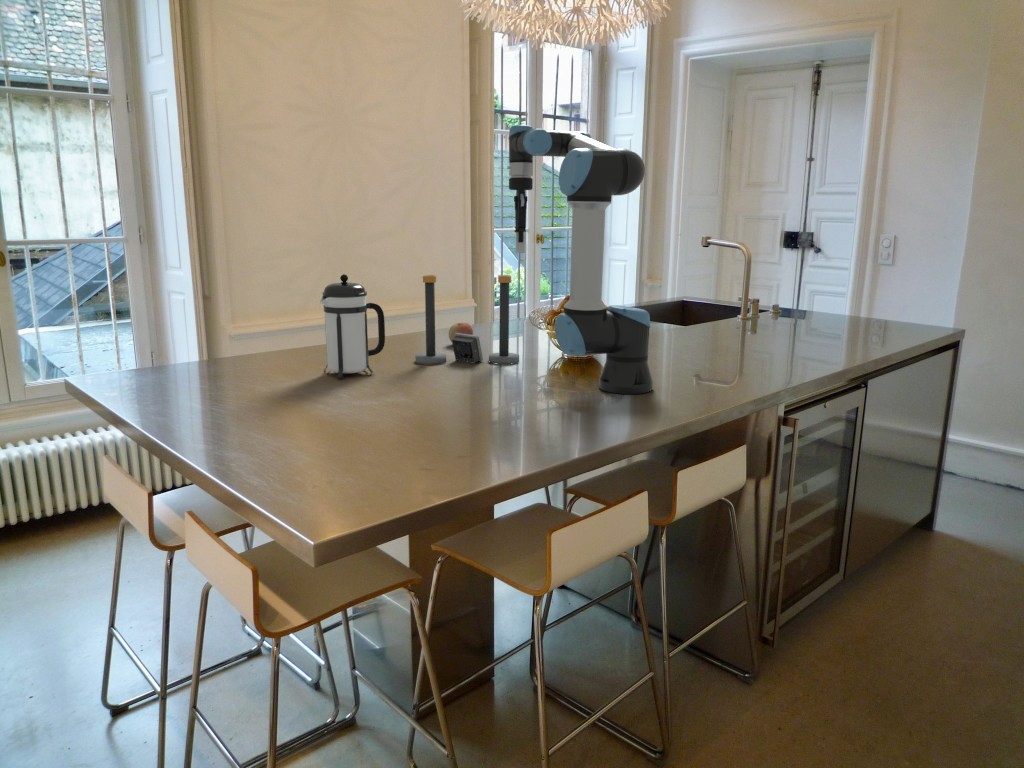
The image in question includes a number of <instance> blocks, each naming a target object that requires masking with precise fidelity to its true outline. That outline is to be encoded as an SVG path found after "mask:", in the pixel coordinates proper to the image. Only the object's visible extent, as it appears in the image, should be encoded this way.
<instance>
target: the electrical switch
mask: <svg viewBox="0 0 1024 768" xmlns="http://www.w3.org/2000/svg"><path fill="white" fill-rule="evenodd" d="M451 344H452V348H453V349H452V350H453V353H454V357H455V358H454V359H455V361H456V360H460V361H459V362H462V361H468V362H474V363H473V364H476V363H479V362H478V361H481V362H483V361H484V359H483V352H482V348H481V347H482V346H481V342H480V336H479V335H476V334H473V335H469V334H461V333H456V334H455V337H454V339H452V342H451ZM468 362H467V363H468ZM475 362H476V363H475Z"/></svg>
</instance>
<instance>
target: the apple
mask: <svg viewBox="0 0 1024 768" xmlns="http://www.w3.org/2000/svg"><path fill="white" fill-rule="evenodd" d="M456 333H461V334H469V335H474V330H473V327H472V326H471V325H470V324H469V323H468V322H456V323H454V324H452V325H451V326H450V327H449V330H448V338H449V341H450V342H451V343H452V339H454V337H455V334H456Z"/></svg>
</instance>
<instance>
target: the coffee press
mask: <svg viewBox="0 0 1024 768" xmlns="http://www.w3.org/2000/svg"><path fill="white" fill-rule="evenodd" d="M339 279H340V281H341V282H336V283H335V282H334V283H330V284H327V285H326V286H325V287H324V289H323V291H322V296H321V298H320V300H319V304H320V305H323V312H324V323H325V324H324V325H325V346H326V347H325V348H326V367H325V368H324V369H323V374H325V375H328V374H329V373H331V372H333V373H334V374H335V373H336V374H337V379H338V380H344V378H345V375H346V374H354V373H361V372H363V373H365V374H366V375H367V376H369V377H371V376H372V375H373V370H372V368H371V367H370V365H369V363H370V362H369V357H371V356H375V355H378V354H380V353H381V352H382V351H383V350H384V347H385V343H386V328H385V327H386V326H385V322H386V321H385V313H384V311H383V308H382V307H381V306H380V305H379V304H377V303H373V302H368V303H367V294H368V291H366V289H365V287H364V286H363V285H362V284H360V283H356V282H348V280H349V276H348V275H347V274H344V273H343V274H341V275H340V278H339ZM369 309H371V310H372V309H373V310H374V311H375V312H376V314H377V326H378V329H377V331H378V342H377V343H378V344H377V346H376V347H375V348H373V349H369V344H368V343H369V341H368V340H369V338H368V335H369V334H368V315H367V310H369ZM327 369H328V370H329V371H328V372H327ZM367 369H368V371H370V373H369V372H368V371H367Z"/></svg>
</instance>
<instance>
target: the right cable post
mask: <svg viewBox="0 0 1024 768" xmlns="http://www.w3.org/2000/svg"><path fill="white" fill-rule="evenodd" d="M497 282H498V284H499V345H498V346H499V352H492V353H489V354H488V362H489V361H490V362H492V363H498V364H497V365H499V364H510V365H512V364H511V363H516V364H518V363H517V362H520V355H519V354H518V353H514V352H509V350H510V348H509V347H510V346H509V345H510V343H509V341H510V335H509V334H510V284H511V283H512V276H511V274H509V275H507V274H505V275H504V274H500V275H499V274H498V275H497ZM490 362H489V363H490ZM492 363H491V364H492Z"/></svg>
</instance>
